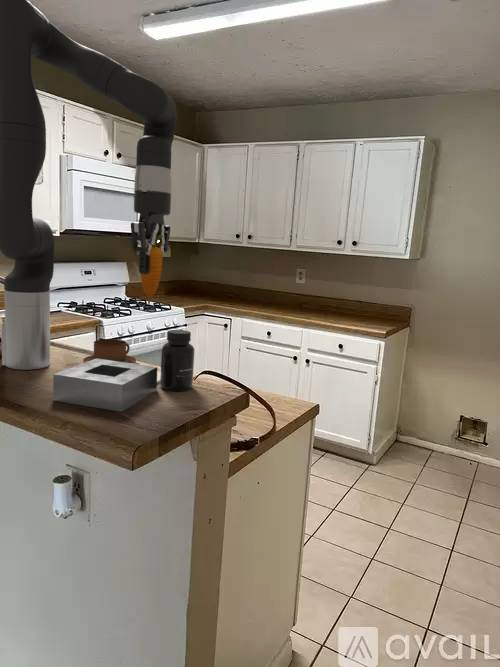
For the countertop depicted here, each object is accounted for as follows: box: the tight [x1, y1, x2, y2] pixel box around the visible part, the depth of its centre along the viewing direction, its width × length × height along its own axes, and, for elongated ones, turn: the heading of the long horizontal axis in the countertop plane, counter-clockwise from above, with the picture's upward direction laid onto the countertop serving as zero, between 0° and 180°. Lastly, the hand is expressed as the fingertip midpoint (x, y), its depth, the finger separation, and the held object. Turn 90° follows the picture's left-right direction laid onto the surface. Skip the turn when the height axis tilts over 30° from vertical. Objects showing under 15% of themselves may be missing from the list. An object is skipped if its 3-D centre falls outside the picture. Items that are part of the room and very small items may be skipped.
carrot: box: [139, 235, 164, 300], centre depth 104 cm, size 5×5×15 cm
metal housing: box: [52, 358, 158, 413], centre depth 94 cm, size 14×14×5 cm
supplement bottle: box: [159, 329, 195, 392], centre depth 102 cm, size 7×7×12 cm
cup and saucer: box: [82, 338, 137, 364], centre depth 115 cm, size 12×12×6 cm
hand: (150, 272), depth 104 cm, fingers closed on carrot, 5 cm apart
